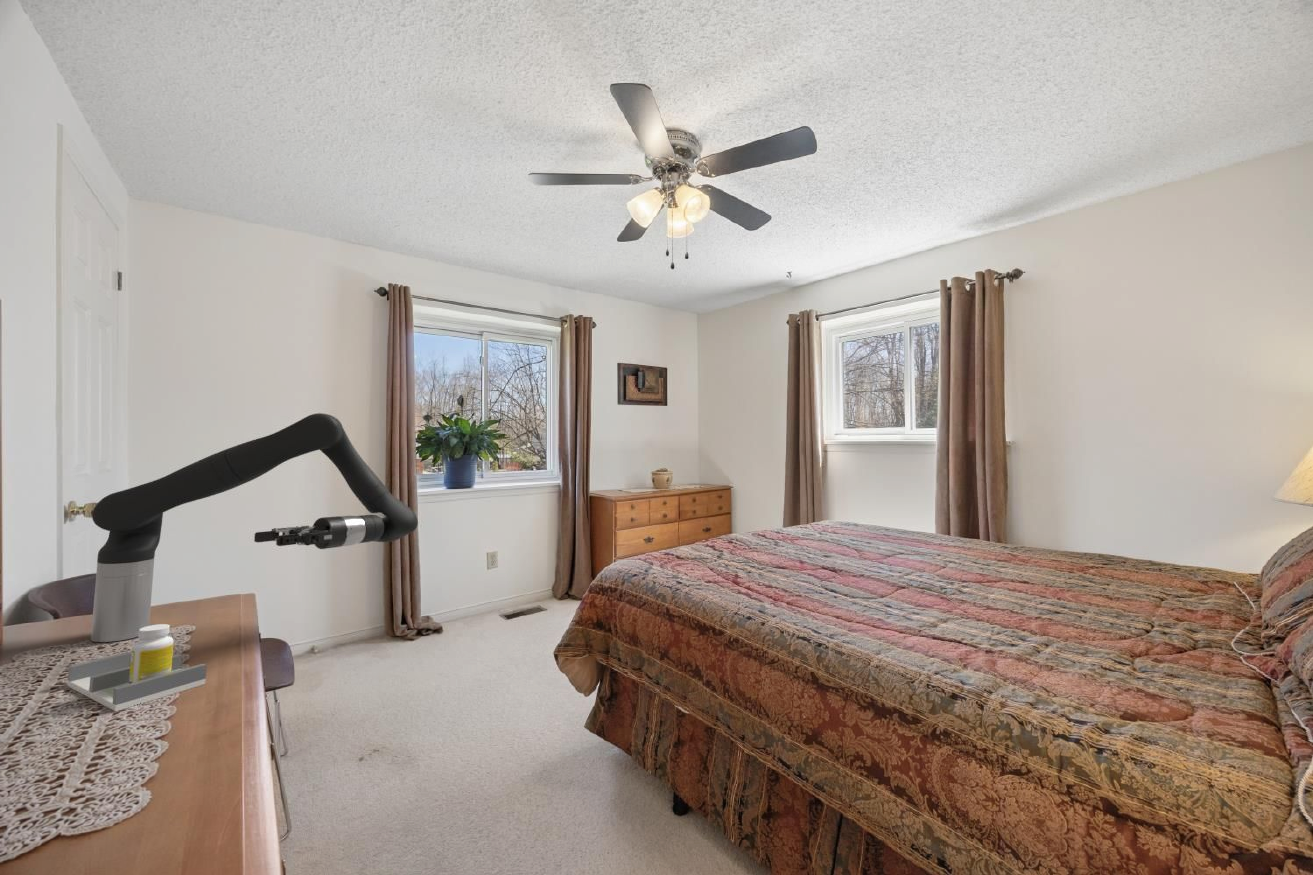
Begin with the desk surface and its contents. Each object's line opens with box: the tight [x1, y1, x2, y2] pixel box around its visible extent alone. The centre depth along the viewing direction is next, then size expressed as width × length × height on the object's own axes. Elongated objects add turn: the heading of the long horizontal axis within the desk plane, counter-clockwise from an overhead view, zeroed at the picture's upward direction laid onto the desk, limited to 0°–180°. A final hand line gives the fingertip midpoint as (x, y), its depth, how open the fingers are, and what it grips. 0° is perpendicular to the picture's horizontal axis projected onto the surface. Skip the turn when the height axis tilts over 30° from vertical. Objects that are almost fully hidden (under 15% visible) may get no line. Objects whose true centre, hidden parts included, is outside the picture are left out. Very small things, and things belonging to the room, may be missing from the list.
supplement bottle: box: [129, 623, 174, 684], centre depth 92 cm, size 5×5×10 cm
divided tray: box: [66, 650, 207, 712], centre depth 94 cm, size 20×12×4 cm, turn 64°
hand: (266, 539), depth 112 cm, fingers open, 8 cm apart
